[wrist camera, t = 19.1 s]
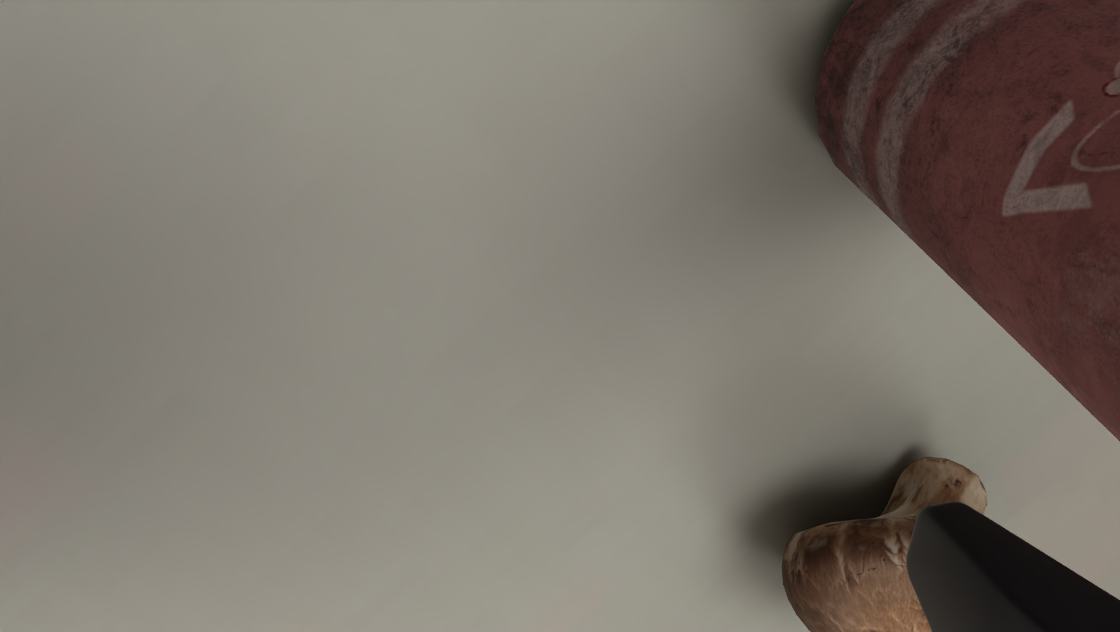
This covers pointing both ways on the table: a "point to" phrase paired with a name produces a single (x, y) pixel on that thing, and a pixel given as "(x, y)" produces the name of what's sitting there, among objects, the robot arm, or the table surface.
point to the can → (996, 161)
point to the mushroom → (872, 556)
